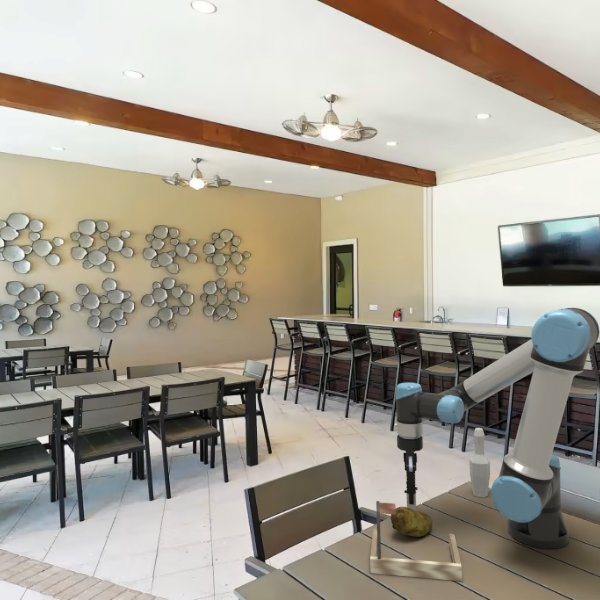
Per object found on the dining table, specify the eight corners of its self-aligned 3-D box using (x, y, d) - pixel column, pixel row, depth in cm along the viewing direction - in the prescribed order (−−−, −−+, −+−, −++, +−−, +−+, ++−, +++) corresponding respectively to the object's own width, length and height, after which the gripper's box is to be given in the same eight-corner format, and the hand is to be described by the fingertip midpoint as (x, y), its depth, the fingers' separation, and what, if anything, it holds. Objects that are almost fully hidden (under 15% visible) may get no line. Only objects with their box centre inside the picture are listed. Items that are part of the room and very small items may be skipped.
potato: (440, 539, 131) (440, 511, 131) (395, 544, 129) (395, 515, 129) (428, 525, 139) (427, 498, 139) (386, 529, 137) (385, 502, 137)
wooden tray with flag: (454, 547, 127) (452, 482, 127) (462, 581, 112) (460, 507, 112) (373, 540, 131) (371, 478, 131) (370, 573, 116) (368, 502, 116)
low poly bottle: (470, 497, 157) (469, 431, 157) (470, 489, 163) (468, 425, 163) (491, 499, 155) (489, 432, 155) (489, 491, 161) (488, 426, 161)
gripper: (396, 428, 150) (398, 502, 150) (396, 441, 137) (398, 522, 137) (421, 429, 148) (423, 504, 149) (423, 442, 136) (425, 524, 136)
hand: (411, 513), depth 143 cm, fingers closed
